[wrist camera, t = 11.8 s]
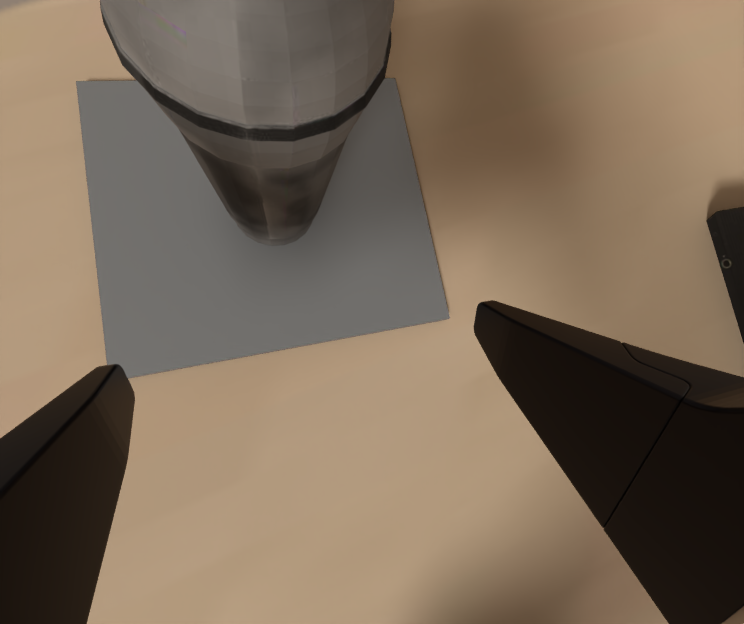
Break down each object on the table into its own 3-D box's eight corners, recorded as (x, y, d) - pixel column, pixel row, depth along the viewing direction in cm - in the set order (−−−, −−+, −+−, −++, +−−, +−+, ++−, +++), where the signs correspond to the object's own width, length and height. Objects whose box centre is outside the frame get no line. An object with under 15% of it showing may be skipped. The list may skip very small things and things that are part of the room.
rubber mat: (445, 319, 23) (449, 318, 22) (114, 380, 18) (108, 381, 18) (392, 85, 24) (394, 78, 24) (82, 89, 20) (76, 81, 20)
